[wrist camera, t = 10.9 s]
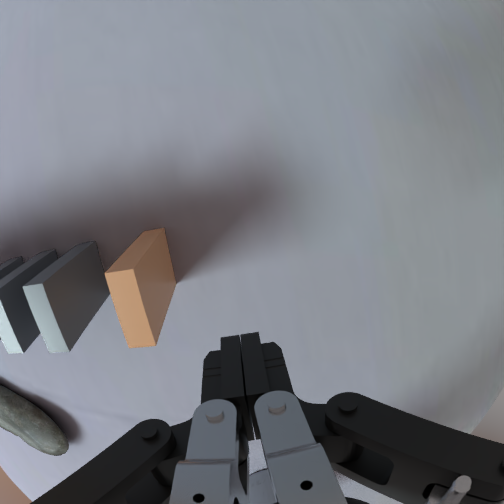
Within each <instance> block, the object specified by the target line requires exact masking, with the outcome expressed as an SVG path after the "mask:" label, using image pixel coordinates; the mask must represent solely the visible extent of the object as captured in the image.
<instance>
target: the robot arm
mask: <svg viewBox="0 0 504 504" xmlns="http://www.w3.org/2000/svg"><path fill="white" fill-rule="evenodd" d="M240 336H241V342H240V337H239V335H235V336H228V337H221V350H218V351H210V352H209V353H208V355H207V356H206V358H205V359H204V364H203V378H202V394H201V405H199V406H198V407H197V408H196V410H195V412H194V414H193V418H191V419H190V420H188V421H186V422H183V423H180V424H177V425H174V426H171V427H170V426H169V425H168V424H167V423H166V422H165V421H162V420H159V419H149V420H145V421H142V422H140V423H139V424H137V425H136V426H135V427H133V428H132V429H131V430H129V431H128V432H127V433H126V434H124V435H123V436H122V437H121V438H119V439H118V440H117V441H115V442H114V443H113V444H112V445H110V446H109V447H108V448H106V449H105V450H104V451H102V452H101V453H100V454H99V455H97V456H96V457H95V458H93V459H92V460H91V461H89V462H88V463H87V464H85V465H84V466H83V467H81V468H80V469H78V470H77V471H76V472H74V473H73V474H72V475H70V476H69V477H67V478H66V479H65V480H63V481H62V482H61V483H59V484H58V485H56V486H55V487H53V488H52V489H51V490H49V491H48V492H46V493H45V494H43V495H42V496H41V497H39V498H38V499H36V500H35V501H33V502H32V503H30V504H369V503H367V502H364V501H361V500H358V499H354V498H348V497H344V494H343V492H342V490H341V487H340V485H339V483H338V481H337V478H336V476H335V474H334V471H333V470H335V471H337V472H339V473H341V474H343V475H345V476H346V477H348V478H350V479H352V480H354V481H356V482H358V483H360V484H362V485H364V486H366V487H368V488H371V489H373V490H375V491H377V492H379V493H381V494H383V495H386V496H388V497H390V498H392V499H395V500H397V501H399V502H402V503H404V504H504V444H502V443H498V442H494V441H491V440H487V439H484V438H480V437H477V436H474V435H471V434H468V433H464V432H461V431H458V430H455V429H452V428H449V427H446V426H443V425H440V424H437V423H434V422H431V421H428V420H426V419H423V418H420V417H417V416H415V415H412V414H409V413H406V412H404V411H401V410H398V409H396V408H393V407H391V406H388V405H385V404H383V403H380V402H378V401H375V400H373V399H370V398H368V397H366V396H363V395H361V394H358V393H353V392H345V393H340V394H337V395H335V396H333V397H332V398H331V399H329V401H328V402H327V404H312V403H307V402H304V401H302V400H300V399H299V398H298V397H297V396H296V395H295V394H294V392H293V389H292V385H291V381H290V378H289V374H288V371H287V367H286V364H285V360H284V357H283V353H282V350H281V348H280V347H279V346H278V345H277V344H276V343H274V342H270V343H264V344H261V343H260V337H259V332H254V333H248V334H241V335H240ZM241 346H242V347H241ZM252 423H253V424H252ZM253 427H254V432H255V436H256V440H257V439H261V443H262V447H263V452H264V457H265V461H266V465H267V470H263V471H259V472H256V473H254V474H252V475H250V476H249V455H248V454H249V446H248V441H251V440H254V432H253Z"/></svg>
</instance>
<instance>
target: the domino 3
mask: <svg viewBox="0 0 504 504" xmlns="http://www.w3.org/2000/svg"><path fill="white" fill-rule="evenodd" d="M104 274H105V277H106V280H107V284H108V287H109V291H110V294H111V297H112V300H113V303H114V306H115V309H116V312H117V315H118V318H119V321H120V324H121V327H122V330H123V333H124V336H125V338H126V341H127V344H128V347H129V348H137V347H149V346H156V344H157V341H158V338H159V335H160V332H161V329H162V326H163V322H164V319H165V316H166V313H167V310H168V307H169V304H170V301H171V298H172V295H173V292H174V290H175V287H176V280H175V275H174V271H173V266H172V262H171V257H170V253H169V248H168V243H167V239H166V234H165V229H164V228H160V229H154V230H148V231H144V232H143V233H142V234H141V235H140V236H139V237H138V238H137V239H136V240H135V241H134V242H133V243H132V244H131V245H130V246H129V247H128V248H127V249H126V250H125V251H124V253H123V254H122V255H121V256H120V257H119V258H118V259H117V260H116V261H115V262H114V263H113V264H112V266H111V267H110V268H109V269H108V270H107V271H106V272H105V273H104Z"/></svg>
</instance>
